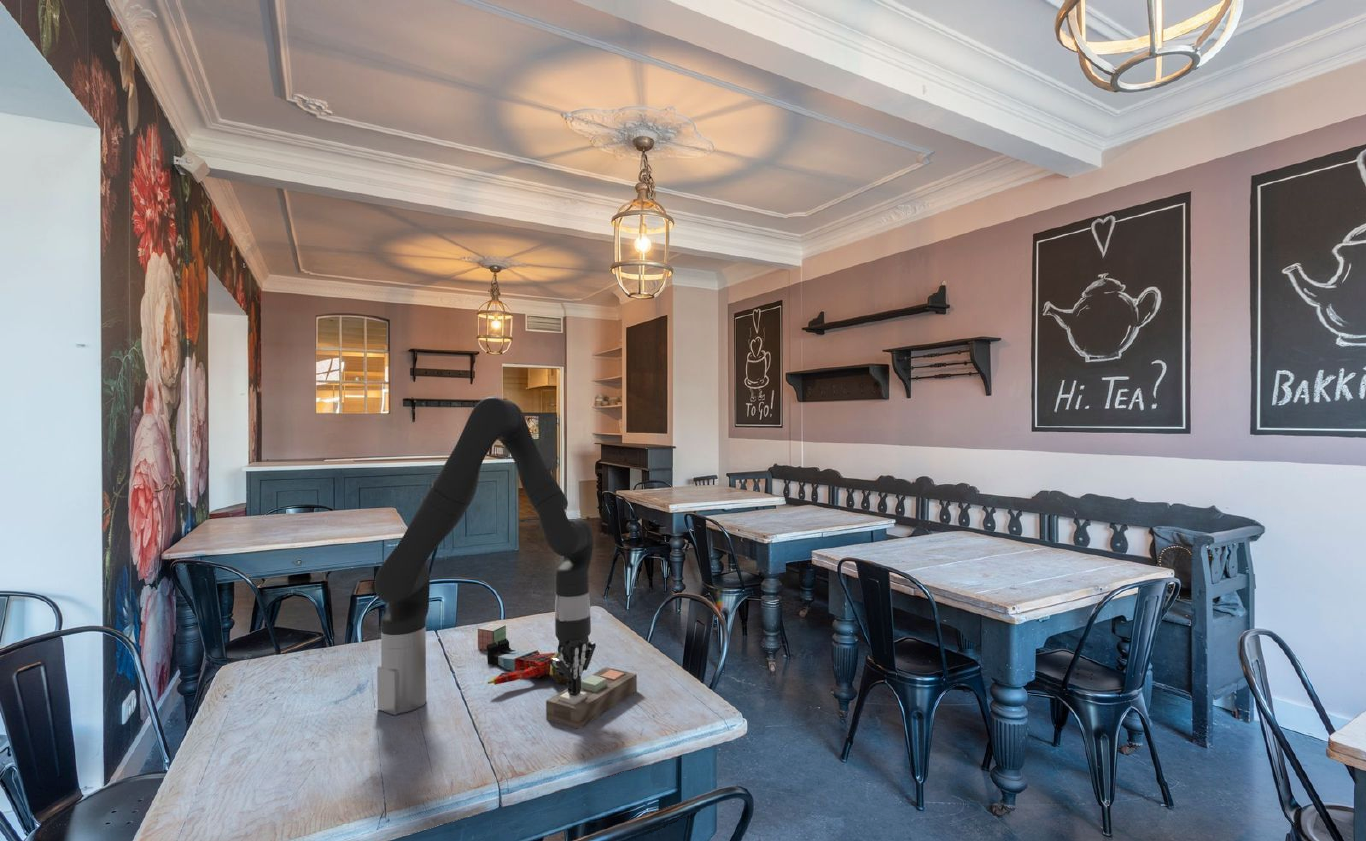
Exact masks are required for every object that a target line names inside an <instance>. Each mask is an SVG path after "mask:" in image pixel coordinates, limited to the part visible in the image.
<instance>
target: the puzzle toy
mask: <svg viewBox="0 0 1366 841" xmlns="http://www.w3.org/2000/svg"><path fill="white" fill-rule="evenodd" d="M503 639H507V626H506V625H505V624H499V623H488V624H486V625H484V626H481V627H479V628H477V649H479V650H484V651H487V646H486V645H488V644H491V643H494V642H496V643H497V644H498V641H500V640H503Z"/></svg>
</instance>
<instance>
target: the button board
mask: <svg viewBox="0 0 1366 841" xmlns="http://www.w3.org/2000/svg"><path fill="white" fill-rule="evenodd" d="M609 670H613V671H618V672H622V673H624V676H622V677H620V678H619V679H617V680H615V681H612V680H608V679H606V686H605V687H604V688H602V689H600V690H599V691H597V692H591V691H587V690H583V689H581V692H585V693H586V698H585V699H584V700H582V701H580V702H579V703H577V704H575V705H572V704H569V703H565V702H561V701H560V696H561V695H562V694H564V693H566V692H568V689H567V688H565V689H564V690H562V691H561V692H559V693H557V694H555V695H553V696H552V697H550V698H548V699H546V700H545V711H546V713H545V715H546V716H545V720H547V721H551V722H555V723H558V724H562V725H565V726H566V727H567V726H568V727H571V728H573V729H574V728H575V729H577V730H580V729H582V728H583V727H585V726H586V725H588V724H590V722H592V721H593V720H595V719H597V718H598V717H600V716H602V715H603V714H604V713H606V712H608V711H609V710H610V709H611V708H614V706H617V705H618V704H619V703H622V701H624V700H625V699H627V698H629V697H631V696H632V695H634V694H635V693H636V692H637V691H638V683H637V682H638V681H637V679H638V678H637V673H633V672H629V671H625V670H620V669H618V668H617V669H616V668H611V667H608V666H605V667H603V668H602V669H599V670H598V671H596V672H594V673H593V674H592V675H594V676H598V677H600V676H601V675H602V674H604V673H606V672H608V671H609ZM590 676H591V675H589V676H587V677H586V678H588V677H590ZM586 678H584V679H586Z"/></svg>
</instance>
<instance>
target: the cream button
mask: <svg viewBox="0 0 1366 841" xmlns="http://www.w3.org/2000/svg"><path fill="white" fill-rule="evenodd" d="M585 698H586V693H585V692H580V693H579V694H578V695H576V696H573V695H570V694H569V693H568V692H566V693H564V694H562V695H561V696H560V701H561V702H565V703H569V704H572V705H575V704H577V703H579V702H580V701H582V700H584V699H585Z"/></svg>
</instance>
